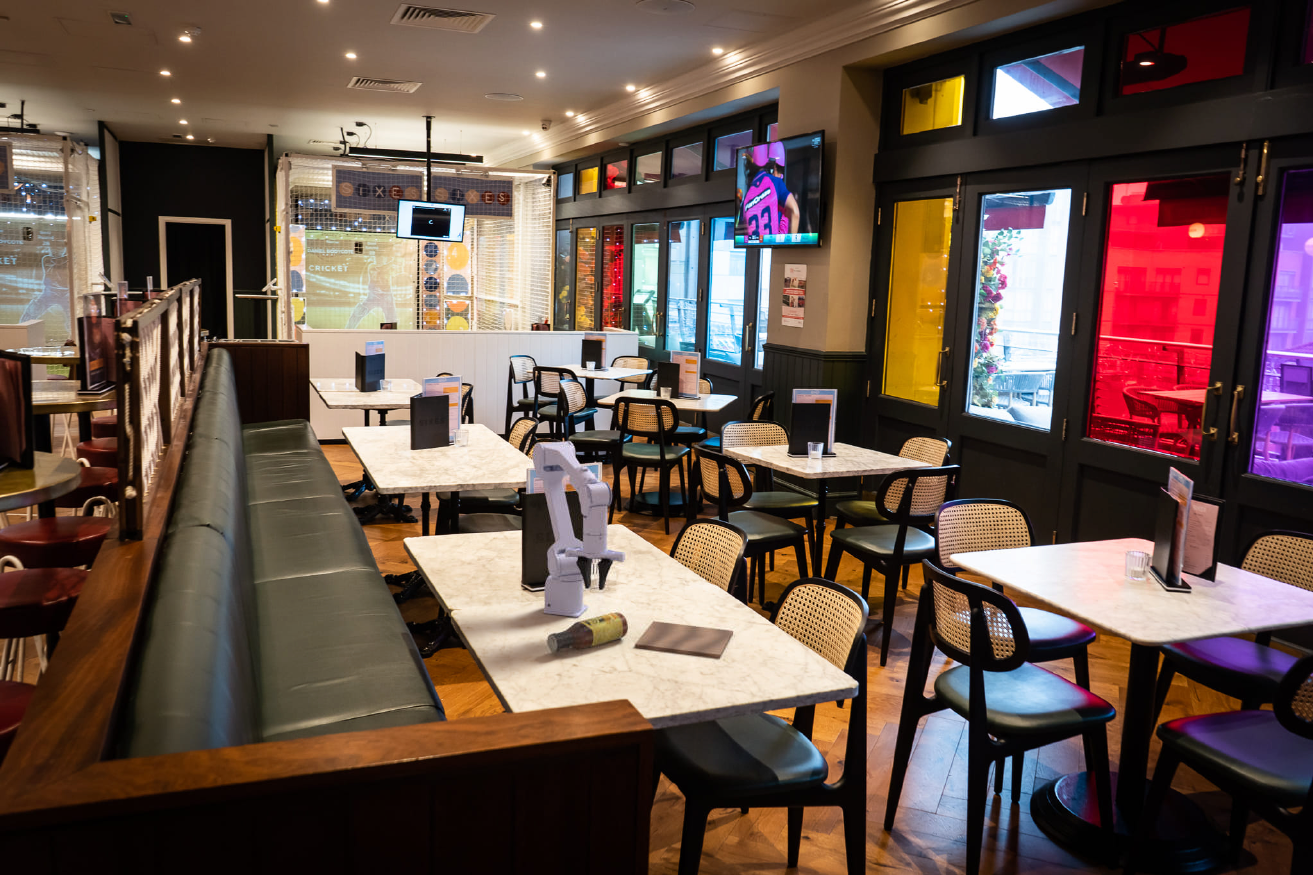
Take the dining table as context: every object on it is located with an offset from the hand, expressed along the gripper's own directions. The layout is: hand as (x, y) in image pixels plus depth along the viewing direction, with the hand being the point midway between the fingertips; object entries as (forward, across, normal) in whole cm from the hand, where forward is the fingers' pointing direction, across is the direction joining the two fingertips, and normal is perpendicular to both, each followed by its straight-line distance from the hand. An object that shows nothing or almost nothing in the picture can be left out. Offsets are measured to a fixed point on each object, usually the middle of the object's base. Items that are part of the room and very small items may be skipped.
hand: (594, 588), depth 225 cm
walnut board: (+11, +22, +1) cm, 25 cm away
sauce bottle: (+8, +7, -2) cm, 11 cm away
